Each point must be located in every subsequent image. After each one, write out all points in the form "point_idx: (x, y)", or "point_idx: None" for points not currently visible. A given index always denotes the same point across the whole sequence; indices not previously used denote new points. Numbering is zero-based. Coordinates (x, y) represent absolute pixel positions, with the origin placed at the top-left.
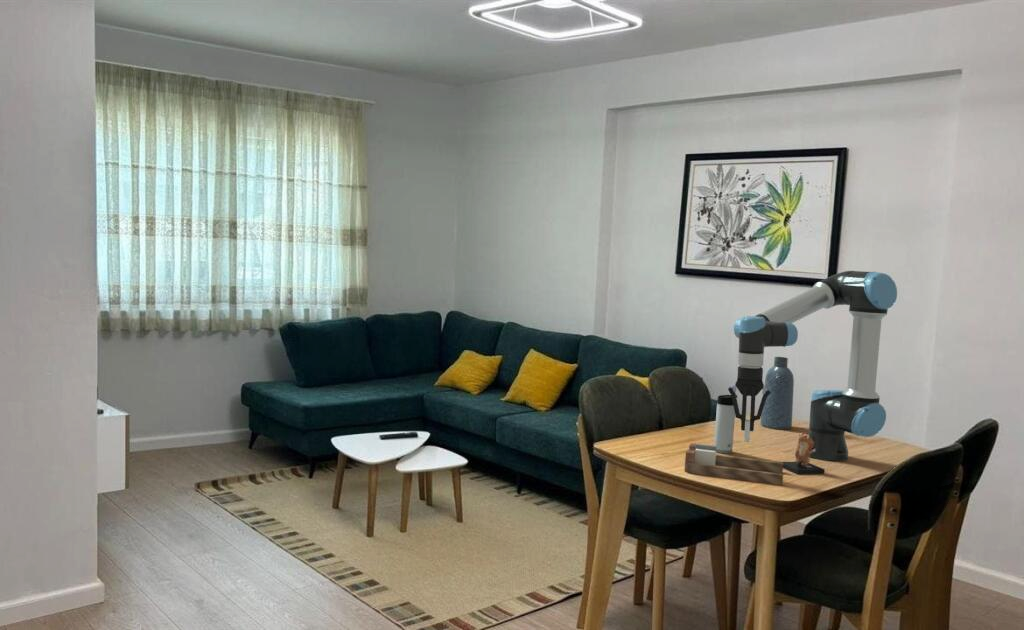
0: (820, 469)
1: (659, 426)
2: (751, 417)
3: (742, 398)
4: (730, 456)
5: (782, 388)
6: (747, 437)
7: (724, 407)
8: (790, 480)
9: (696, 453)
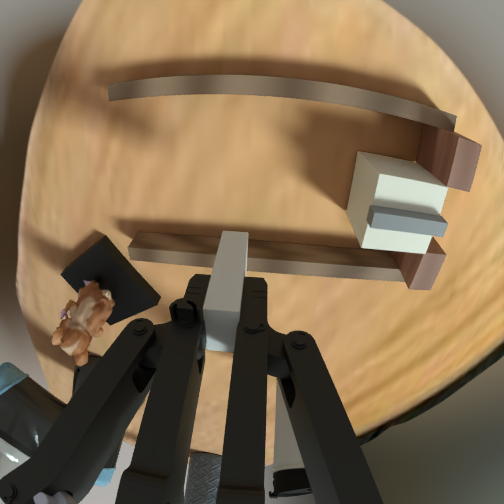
0: (65, 270)
1: (378, 432)
2: (188, 333)
3: (264, 492)
4: (295, 272)
5: (196, 500)
6: (229, 243)
7: None
8: (108, 157)
9: (437, 181)
